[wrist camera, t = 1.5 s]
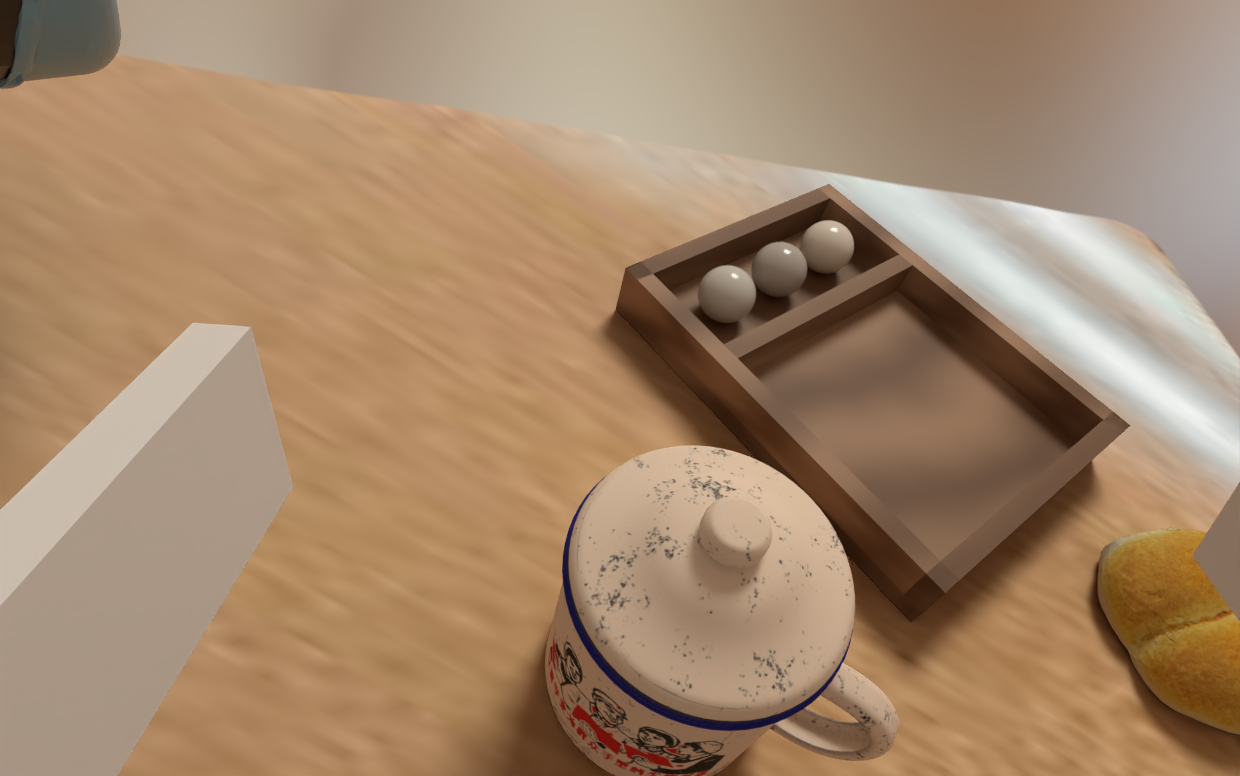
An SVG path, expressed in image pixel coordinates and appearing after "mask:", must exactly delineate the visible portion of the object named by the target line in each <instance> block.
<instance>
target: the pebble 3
mask: <svg viewBox="0 0 1240 776" xmlns="http://www.w3.org/2000/svg"><path fill="white" fill-rule="evenodd" d="M800 251H801V252H802V253H803V255H804V257H805V259H806V262H807V266H808V267H809V268H810V269H811V270H813V271H815V272H818V273H822V274H830V273H834V272H837V271H839V270H841V269H842V268H844V267H845V266H846V265H847V264H848V262H849V261H850V260H851V258H852V255H853V252H854V240H853V237H852V234H851V232H850V231H849V230H848V229H847V227H845V226H844V225H843V224H841V223H839V222H836V221H832V220H825V221H820V222H817V223H815V224H813V225H812V226H811V227H809V228H808V229H807V230H806V232H805V233H804V235H803V237H802V239H801V242H800Z"/></svg>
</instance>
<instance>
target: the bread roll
mask: <svg viewBox="0 0 1240 776" xmlns="http://www.w3.org/2000/svg"><path fill="white" fill-rule="evenodd" d="M1206 534H1207V533H1206V532H1201V531H1193V530H1181V529H1174V528H1172V527H1170V528H1168V529H1160V530H1154V531H1150V532H1141V533H1135V534H1132V535H1129V536H1126V537H1121V538H1118V539H1116V540H1114V541H1113V542H1111V543H1110V544H1108V545H1107V546H1105V547H1104V549H1103V550H1102V552H1101V556H1100V560H1099V569H1098V598H1099V601H1100V604H1101V608H1102V610H1103V612H1104V613H1105V615H1106V617H1107V619H1108V622H1109V623H1110V625H1111V627H1112V629H1113V630H1114V631H1115V633H1116V634H1117V636H1118V638H1119V640H1120V641H1121V643H1122V644H1123V645H1124V646H1125V647H1126V648H1127V650H1128V652H1129V654H1130V658H1131V660H1132V662H1133V665H1134V667H1135V668H1136V670H1137V672H1138V673H1139V675H1140V676H1141V678H1142V679H1143V681H1144V682H1145V684H1146V685H1147V686H1148V687H1149V689H1150V690H1151V691H1152V692H1153V693H1154V694H1155V695H1156V696H1157V697H1158V698H1159V699H1160V700H1161V701H1162V702H1163V703H1164V704H1166V705H1167V706H1169V707H1170V708H1172V709H1174V710H1175V711H1177V712H1179V713H1182V714H1184V715H1186V716H1188V717H1191V718H1193V719H1195V720H1198V721H1200V722H1202V723H1205V724H1208V725H1210V726H1213V727H1215V728H1218V729H1221V730H1224V731H1226V732H1229V733H1233V734H1238V735H1240V621H1239V620H1238V618H1237V617H1236V616H1235V614H1234V613H1233V611H1232V610H1231V609H1230V607H1229V606H1228V605H1227V603H1226V602H1225V600H1224V599H1223V598H1222V596H1221V595H1220V593H1219V592H1218V591H1217V589H1216V588H1215V586H1214V585H1213V584H1212V582H1211V581H1210V579H1209V578H1208V577H1207V575H1206V574H1205V572H1204V571H1203V570H1202V568H1201V567H1200V566H1199V564H1198V563H1197V561H1196V560H1195V559H1194V557H1193V556H1192V555H1193V553H1194V552H1195V550H1196V549H1197V547H1198V546H1199V544H1200V543H1201V541H1202V540H1203V538H1204V537H1205V535H1206Z"/></svg>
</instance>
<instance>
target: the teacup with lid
mask: <svg viewBox="0 0 1240 776" xmlns="http://www.w3.org/2000/svg"><path fill="white" fill-rule="evenodd" d="M562 573H563V584H562V587H561V591H560V595H559V599H558V602H557V606H556V610H555V614H554V618H553V621H552V625H551V629H550V633H549V636H548V640H547V646H546V654H545V675H546V682H547V688H548V692H549V697H550V700H551V703H552V706H553V709H554V711H555V713H556V715H557V718H558V720H559V722H560V723H561V725H562V727H563V729H564V730H565V732H566V733H567V735H568V736H569V738H570V739H571V740H572V742H573V743H574V744H575V745H576V746H577V747H578V748H579V750H580V751H581V752H582V753H584V754H585V755H586V756H587V757H588V758H589V759H590V760H591V761H593V762H594V763H595V764H596V765H598V766H599V767H601V768H602V769H604V770H606V771H607V772H609V773H611V774H613V775H615V776H712V775H714V774H716V773H718V772H719V771H721V770H722V769H724V768H725V767H726V766H728V765H729V764H730V763H731V762H732V761H734V760H735V759H736V758H737V757H738V756H739V755H740V754H741V753H742V752H744V751H745V750H746V749H747V748H748V747H749V746H750V745H751V744H752V743H754V742H755V741H756V740H757V739H758V738H759V737H760V736H761V735H762V734H764V733H765V732H766V731H767V730H768V729H769V728H770V729H772V730H773V731H775V732H777V733H778V734H780V735H781V736H783V737H785V738H786V739H788V740H790V741H792V742H794V743H795V744H797V745H799V746H801V747H803V748H805V749H808V750H810V751H812V752H815V753H818V754H820V755H824V756H827V757H831V758H836V759H841V760H851V761H863V760H870V759H874V758H877V757H880V756H882V755H883V754H885V753H886V752H887V751H888V750H889V749H890V748H891V746H892V744H893V742H894V739H895V736H896V733H897V730H898V716H897V713H896V710H895V709H894V707H893V705H892V703H891V702H890V700H889V699H888V698H887V696H886V695H885V694H884V693H883V692H882V691H881V690H880V689H879V688H878V687H877V686H876V685H875V684H874V683H872V682H871V681H870V680H869V679H867V678H866V677H865V676H863V675H862V674H860V673H859V672H857V671H855V670H854V669H852V668H851V667H849V666H847V665H846V664H844V663H843V661H844V659H845V657H846V654H847V651H848V648H849V645H850V641H851V636H852V632H853V625H854V616H855V592H854V584H853V579H852V574H851V569H850V566H849V563H848V559H847V556H846V554H845V551H844V549H843V546H842V544H841V542H840V540H839V538H838V536H837V534H836V532H835V530H834V528H833V527H832V525H831V524H830V522H829V520H828V519H827V518H826V516H825V515H824V513H823V512H822V511H821V509H820V508H819V507H818V506H817V505H816V504H815V502H814V501H813V500H812V499H811V498H810V497H809V496H808V495H807V494H806V493H805V492H804V491H803V490H802V489H801V488H799V487H798V486H797V485H796V484H795V483H794V482H792V481H791V480H790V479H788V478H787V477H786V476H784V475H783V474H781V473H780V472H778V471H777V470H775V469H773V468H772V467H770V466H768V465H766V464H764V463H762V462H760V461H758V460H756V459H754V458H751V457H749V456H746V455H743V454H740V453H738V452H734V451H730V450H726V449H722V448H716V447H709V446H693V445H687V446H675V447H668V448H662V449H659V450H655V451H651V452H648V453H645V454H642V455H640V456H637V457H635V458H633V459H631V460H629V461H627V462H625V463H624V464H622V465H620V466H619V467H617V468H616V469H615V470H613V471H612V472H611V473H609V474H608V475H607V476H606V477H604V478H603V479H602V480H601V481H600V482H599V483H598V484H597V485H596V486H595V487H594V488H593V489H592V490H591V491H590V492H589V494H588V495H587V496H586V497H585V499H584V500H583V502H582V503H581V505H580V506H579V508H578V510H577V512H576V514H575V516H574V518H573V520H572V523H571V525H570V528H569V531H568V534H567V538H566V542H565V547H564V553H563V567H562ZM819 695H822V696H823V697H825V698H826V699H828V700H830V701H831V702H833V703H834V704H836V705H838V706H839V707H841V708H842V709H844V710H845V711H846V712H848V713H849V714H850V715H852V716H853V717H854V718H855V719H856V720H857V721H858V722H843V721H837V720H833V719H829V718H826V717H824V716H821V715H819V714H816V713H814V712H812V711H810V710H808V709H806V708H805V707H807V706H808V705H809V704H811V703H812V702H813V701H814V700H815V699H816V698H817V697H818V696H819Z"/></svg>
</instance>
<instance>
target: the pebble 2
mask: <svg viewBox="0 0 1240 776" xmlns="http://www.w3.org/2000/svg"><path fill="white" fill-rule="evenodd" d="M751 274H752V279H753V281H754V283H755V285H756V286H757V288H758V289H759V290H760V291H761V292H763V293H764V294H766V295H768V296H772V297H785V296H789V295H791V294H793V293H794V292H796V291H797V290H798V289H799V288H800V287H801V286H802V285H803V283H804V281H805V279H806V276H807V262H806V259H805V257H804V255H803V253H802V252H801V251H800V250H799V249H798V248H797V247H796V246H794V245H792V244H790V243H787V242H774V243H770V244H768V245H766V246H764V247H763V248H762V249H760V250H759V252H758V253H757V254H756V256H755V257H754V259H753V262H752V267H751Z"/></svg>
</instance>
